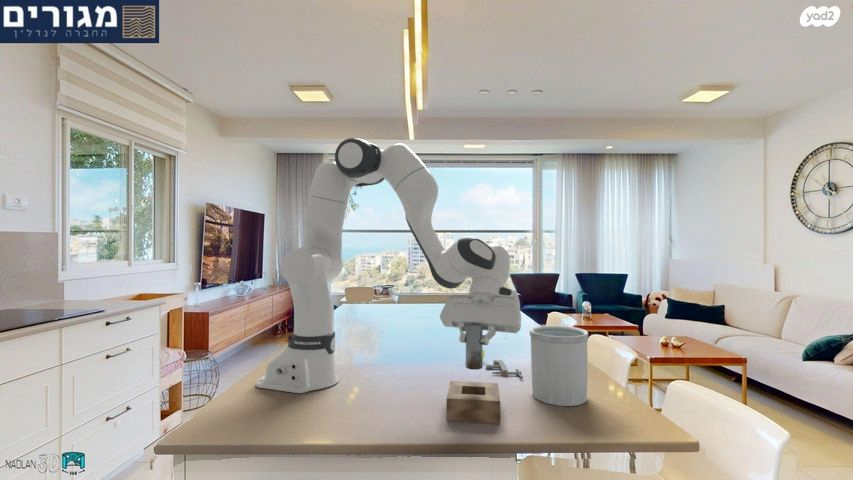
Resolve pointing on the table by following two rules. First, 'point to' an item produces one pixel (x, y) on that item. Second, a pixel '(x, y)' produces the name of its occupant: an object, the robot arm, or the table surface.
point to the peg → (473, 346)
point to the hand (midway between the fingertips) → (473, 342)
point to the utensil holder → (559, 364)
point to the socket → (473, 402)
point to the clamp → (503, 369)
